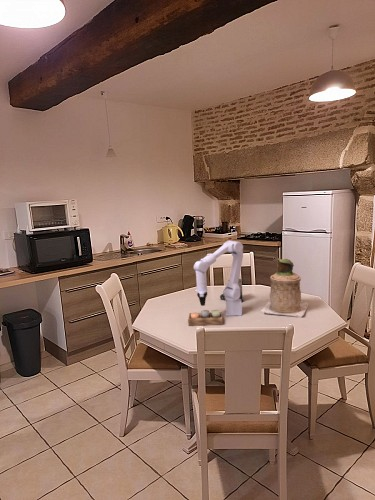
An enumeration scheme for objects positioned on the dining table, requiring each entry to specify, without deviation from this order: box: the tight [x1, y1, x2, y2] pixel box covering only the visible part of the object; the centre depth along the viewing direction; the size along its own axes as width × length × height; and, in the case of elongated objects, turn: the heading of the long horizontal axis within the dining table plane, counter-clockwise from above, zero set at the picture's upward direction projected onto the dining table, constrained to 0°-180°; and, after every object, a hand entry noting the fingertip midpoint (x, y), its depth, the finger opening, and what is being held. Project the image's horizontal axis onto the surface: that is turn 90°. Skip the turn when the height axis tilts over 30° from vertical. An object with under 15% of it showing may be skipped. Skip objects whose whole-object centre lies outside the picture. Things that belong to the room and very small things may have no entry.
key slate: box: [200, 309, 210, 318], centre depth 201 cm, size 5×5×4 cm
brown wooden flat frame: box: [187, 311, 224, 327], centre depth 201 cm, size 19×12×3 cm, turn 86°
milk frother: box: [219, 278, 244, 303], centre depth 236 cm, size 14×16×15 cm
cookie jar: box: [261, 258, 309, 318], centre depth 211 cm, size 25×25×32 cm
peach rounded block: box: [190, 312, 200, 318], centre depth 201 cm, size 5×5×4 cm
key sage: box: [211, 309, 221, 318], centre depth 200 cm, size 5×5×4 cm
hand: (203, 305), depth 200 cm, fingers closed
